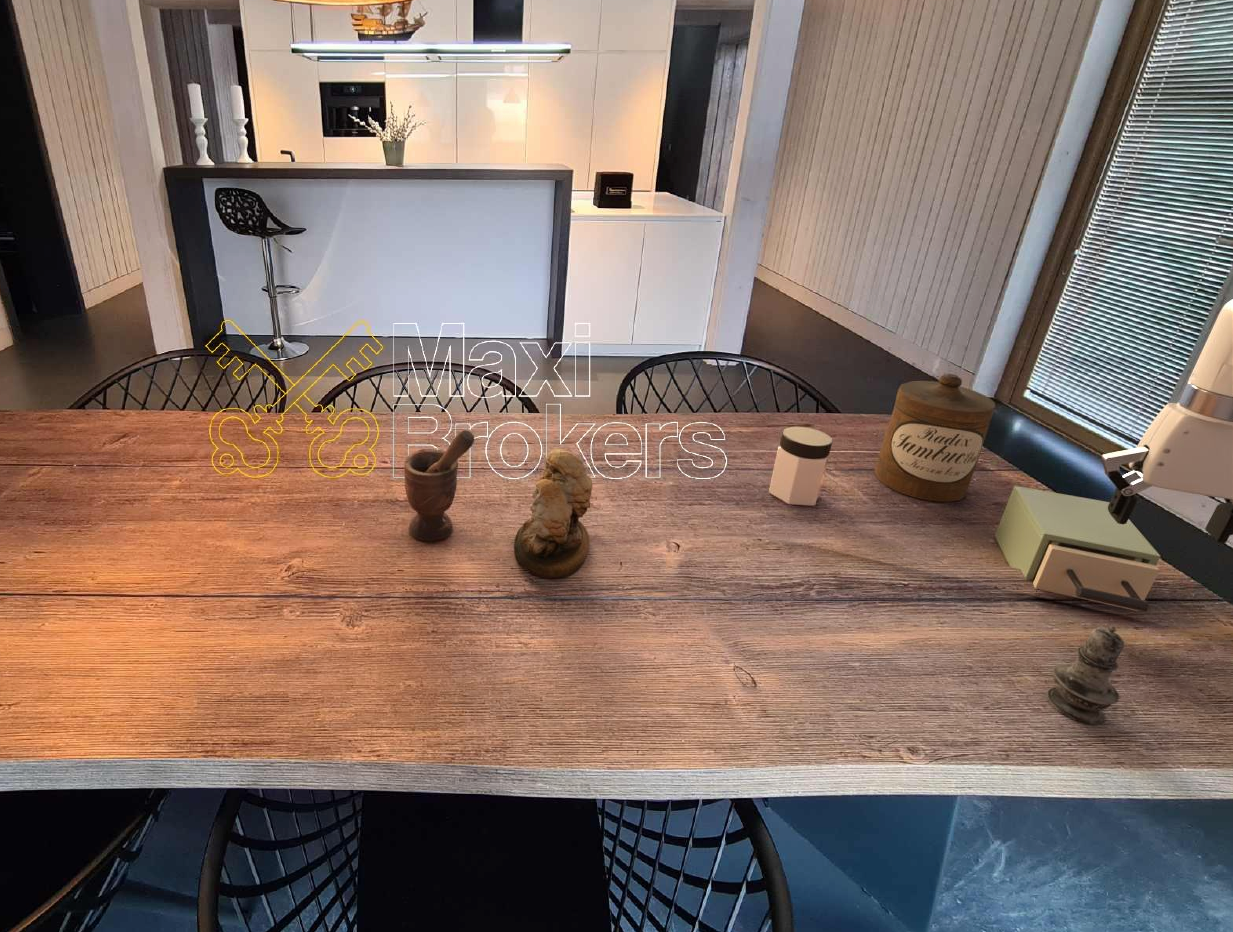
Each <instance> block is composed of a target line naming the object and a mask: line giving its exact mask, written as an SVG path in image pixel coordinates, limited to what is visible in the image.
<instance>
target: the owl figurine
mask: <svg viewBox="0 0 1233 932" xmlns="http://www.w3.org/2000/svg"><path fill="white" fill-rule="evenodd" d="M544 466H545V467H544V469H543V470H542V473H541V474H540V477H539V480H538V481H537V482H536V484H535V486H534V489H533V491H532V499H533V502H531V503H530V505H529V509H530V511H531V518H529V519H527V520H526V521H525V522H524V523H523V524H522V525H521V526H520V528H519V529H518V531H517V532H516V534H515V536H514V537H515V538H514V542H513V552H514V556H515V559H516V561H517V563H518V564H519V566H521V568H523V569H524V570H525V572H527V573H529V574H530V575H532V576H535V577H539V578H541V579H547V580H557V579H564V578H567V577H569V576H571V575H573V574H575V572H577V571H578V570H579V569H580V568H581V567H582V566H583V565H584V563H585V562H586V559H587V557H588V554H589V548H590V537H589V533H588V530H587V529H586V527H585V525H584V524H583V523H582V522H581V521H580V518H583V517H584V515H585V514H586V513H587V511H588V509H589V508H591V497H592V491H593V480H592V478H591V477H590V476H589V475H588V473H587V468H586V466H585V465H584V463H583V461H582V460H581V459H580V458H579V457H578V456H577V455H576V454H574V453H573V452H570V451H568V450H566V449H564V448H556V449H552V450H551V451H549V452H548V455H547V456H546V458H545V465H544Z"/></svg>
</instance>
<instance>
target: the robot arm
mask: <svg viewBox="0 0 1233 932" xmlns="http://www.w3.org/2000/svg"><path fill="white" fill-rule="evenodd" d="M1100 460H1101V463H1102V466H1103V469H1104V474H1105V475H1106V477H1107V478H1108V479H1109V481H1111V483H1112V484H1113V486H1115V490H1114V492H1113V494H1112V496H1111V498H1110V501H1109V502H1110V503H1109V505H1108V511H1109V513H1110V515H1111V516H1112V517H1113V518H1114V520H1115V521H1116V522H1117V523H1118V524H1126V523H1127V521H1128V519H1129V520H1130V516H1131V514H1132V512H1133V510H1134V509H1135V506H1136V504H1137V502H1138V498H1137V497H1136V496H1135V495H1137V494H1138V493H1141V492H1143V491H1145V490H1147V489H1149V488H1151V487H1155V488H1159V489H1165V490H1170V491H1177V492H1183V493H1189V494H1192V495H1193V494H1194V495H1200V496H1205V497H1212V498H1219V499H1223V500H1224V501H1225V503H1222V502H1219V504H1217V505H1216V507H1215V508H1214V511H1213V512H1212V515H1211V516H1210V518H1209V520H1208V521H1207V524H1206V525H1205V528H1204V529H1205V531H1206V533H1208V534H1209V536H1211V537H1212V539H1214V540H1215V541H1216V542H1217V543H1220V544H1226V543H1227V542H1228V540H1229V539H1230V536H1233V299H1231V300H1229V301H1228V302H1227V303H1225V304H1224V305H1223V306H1222V308H1221V310H1220V312H1219V314H1218V316H1217V318H1216V320H1215V322H1214V324H1213V327H1212V329H1211V331H1210V334H1209V335H1208V337H1207V339H1206V342H1205V343H1204V346H1203V348H1202V350H1201V353H1200V354H1199V357H1198V359H1197V361H1196V364H1195V365H1194V367H1193V370H1192V372H1191V374H1190V376H1189V378H1188V380H1187V382H1186V384H1185V386H1184V388H1183V391H1182V393H1181V395H1180V397H1179V399H1178V401H1177V403H1176V402H1169V403H1167V404H1166V405H1165V406H1164V407H1163V408H1162V409H1161V411H1160V412H1159V413H1158V414H1157V415H1156V416H1155V418H1154V419H1153V420H1152V422H1151V423H1150V425H1149V426H1148V428H1147V429H1146V431H1145V432H1144V434H1143V435H1142V437H1141V439H1140V441H1139V442H1138V444H1137V446H1136V447H1135V448H1130V449H1126V450H1125V449H1124V450H1119V451H1115V452H1109V453H1104V454H1102V455H1101V456H1100ZM1126 464H1128V467H1129V469H1131V470H1132V471H1129V472H1128V473H1125V474H1123V475H1122V473H1121V469H1120V467H1121V466H1122V465H1126Z"/></svg>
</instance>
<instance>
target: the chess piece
mask: <svg viewBox="0 0 1233 932" xmlns="http://www.w3.org/2000/svg"><path fill="white" fill-rule="evenodd" d="M1124 648H1125V641H1124V639H1123V638H1122V637H1121V636H1120V635H1119V634H1118V633H1117V629H1116V627H1115V626H1113V625H1112V626H1108V628H1103V627H1102V628H1101V627H1100V628H1099V627H1098V628H1095V629H1093V630H1092V631H1091V632H1090V633H1089V636H1088V638H1087V640H1086V642H1085V644H1084V646H1080V647H1079V648H1077V651H1076V652H1077V655H1078V657H1077V659H1076V661H1075V663H1074V664H1066V663H1065V664H1058V665H1056V666H1054V667H1053V669H1052V675H1053V685H1054V687H1051V688H1049V689H1047V691H1046V692H1045V698H1046V700H1047V702H1048V703H1049V704H1050V705H1051V707H1052V708H1053V709H1055V710H1056V711H1057V712H1058V713H1060V714H1062V715H1063V716H1065V717H1067V718H1069V719H1071V720H1073V721H1075V722H1078V723H1081V724H1083V725H1092V726H1097V725H1100V724H1102V723H1103V722H1104V721H1105V714H1104V713H1103V710H1106V709H1107V708H1110V707H1111V706H1112V705H1115V704H1117V703H1118V702H1119V700H1120V694H1119V692H1118V690H1117V688H1116V687H1114V685H1113V684H1112V683H1111V682H1109V679H1110V677H1111V675H1112V673H1113V672H1115V671H1117V670H1118V669H1119V667H1120V666H1119V663H1118V658H1119V657H1120V655H1121V653H1122V651H1123V649H1124Z"/></svg>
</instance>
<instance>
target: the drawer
mask: <svg viewBox="0 0 1233 932" xmlns="http://www.w3.org/2000/svg"><path fill="white" fill-rule="evenodd" d="M1141 561H1142V558H1138V557H1133V556H1128V555H1123V554H1118V553H1113V552H1107V551H1102V550H1097V549H1092V548H1087V547H1082V546H1077V545H1072V544H1067V543H1062V542H1057V541H1052V540H1049V543H1048V545H1047V547H1046V550H1045V552H1044V554H1043V557H1042V559H1041V562H1040V564H1039V566H1038V569H1037V571H1036V573H1035V576H1034V579H1033V583H1032V586H1033V587H1034V589H1036V590H1039V591H1045V592H1050V593H1055V594H1059V595H1062V596H1063V595H1064V596H1068V597H1073V598H1077V599H1082V600H1087V601H1090V602H1095V603H1099V604H1104V605H1108V606H1112V607H1117V608H1122V609H1127V610H1130V611H1136V612H1139V611H1141V612H1144V613H1145V612H1148V611H1149V609H1150V604H1149V601H1147V600H1146V599H1147V596H1148V594H1149V592H1150V591H1151V588H1152V586H1153V585H1154V582H1155V580H1156V578H1157V577H1158V575H1159V573H1160V569H1159V567H1158V565H1151V564H1146V563H1141Z"/></svg>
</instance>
